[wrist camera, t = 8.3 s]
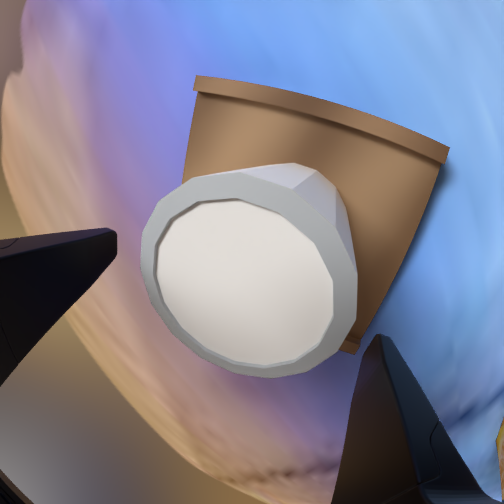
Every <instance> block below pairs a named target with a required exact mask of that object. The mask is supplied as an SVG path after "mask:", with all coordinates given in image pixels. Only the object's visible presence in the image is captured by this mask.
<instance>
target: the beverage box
mask: <svg viewBox="0 0 504 504" xmlns="http://www.w3.org/2000/svg"><path fill="white" fill-rule="evenodd" d="M496 445H497V451H498V458H499V467H500V476H501V489H502V502H503V503H504V418H503V421H502V425H501V428H500V431H499V433H498V436H497V439H496Z"/></svg>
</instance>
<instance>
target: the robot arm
mask: <svg viewBox="0 0 504 504" xmlns="http://www.w3.org/2000/svg"><path fill="white" fill-rule="evenodd" d="M116 255H117V233H116V232H115V231H114V230H111V229H109V228H98V229H88V230H78V231H69V232H60V233H52V234H43V235H35V236H27V237H20V238H12V239H4V240H0V386H1V385H2V384H3V383H4V381H5V380H6V379H7V378H8V377H9V375H10V374H11V373H12V372H13V370H14V369H15V368H16V367H17V366H18V364H19V363H20V362H21V361H22V360H23V358H24V357H25V356H26V355H27V354H28V353H29V351H30V350H31V349H32V348H33V347H34V346H35V345H36V344H37V342H38V341H39V340H40V339H41V338H42V337H43V336H44V335H45V333H47V331H48V330H49V329H50V328H51V327H52V326H53V325H54V324H55V323H56V322H57V321H58V320H59V319H60V317H62V315H63V314H64V313H65V312H66V311H67V310H68V309H69V308H70V307H71V306H72V305H73V304H74V303H75V302H76V301H77V300H78V299H79V298H80V297H81V296H82V295H83V294H84V293H85V292H86V291H87V290H88V289H89V288H90V287H91V286H92V285H93V284H94V282H95V281H96V280H97V279H98V278H99V276H100V275H101V274H102V273H103V272H104V271H105V269H106V268H107V267H108V266H109V265H110V264H111V262H112V261H113V260H114V259H115V257H116ZM0 504H34V503H33V502H32V501H31V500H29V499H28V498H27V497H26V496H25V495H24V494H23V493H22V492H21V491H20V490H19V489H18V488H17V487H16V486H15V485H14V484H13V483H12V481H11V480H10V479H9V478H8V477H7V476H6V475H5V474H4V473H3V472H2V471H1V469H0ZM331 504H504V503H503V502H500V501H497V500H494V499H492V498H491V497H489V496H488V495H487V494H485V493H484V491H483V490H482V489H481V488H480V486H479V485H478V483H477V481H476V480H475V478H474V477H473V475H472V473H471V472H470V470H469V468H468V467H467V465H466V464H465V462H464V461H463V459H462V457H461V456H460V454H459V453H458V451H457V449H456V448H455V446H454V445H453V443H452V441H451V439H450V438H449V436H448V434H447V432H446V431H445V429H444V427H443V425H442V423H441V422H440V421H439V418H438V416H437V414H436V413H435V411H434V409H433V407H432V406H431V404H430V402H429V401H428V399H427V397H426V395H425V394H424V392H423V390H422V389H421V387H420V385H419V384H418V382H417V380H416V379H415V377H414V375H413V374H412V372H411V370H410V369H409V367H408V365H407V364H406V362H405V361H404V359H403V357H402V356H401V354H400V353H399V351H398V349H397V348H396V346H395V345H394V343H393V342H392V340H391V339H390V337H388V336H385V335H382V334H377V335H376V336H375V337H374V338H373V340H372V341H371V343H370V345H369V346H368V348H367V349H366V351H365V353H364V355H363V357H362V361H361V365H360V369H359V374H358V378H357V382H356V386H355V390H354V393H353V398H352V402H351V407H350V414H349V420H348V426H347V432H346V438H345V443H344V449H343V454H342V459H341V463H340V468H339V473H338V477H337V481H336V486H335V490H334V494H333V498H332V502H331Z"/></svg>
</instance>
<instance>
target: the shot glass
mask: <svg viewBox="0 0 504 504" xmlns="http://www.w3.org/2000/svg"><path fill="white" fill-rule="evenodd" d="M140 269H141V273H142V276H143V279H144V282H145V286H146V289H147V292H148V295H149V298H150V301H151V304H152V305H153V307H154V308H155V310H156V311H157V313H158V314H159V316H160V317H161V319H162V320H163V321H164V323H165V324H166V326H167V327H168V329H169V330H170V331H171V333H172V334H173V335H174V336H175V337H176V338H178V339H179V340H180V341H181V342H182V343H184V344H185V345H186V346H187V347H188V348H190V349H191V350H192V351H193V352H194V353H196V354H197V355H198V356H199V357H201V358H202V359H205V360H207V361H209V362H211V363H213V364H215V365H217V366H220V367H222V368H224V369H226V370H228V371H231V372H233V373H236V374H242V375H249V376H256V377H263V378H277V377H283V376H289V375H294V374H299V373H304V372H307V371H309V370H310V369H312V368H314V367H315V366H317V365H318V364H320V363H321V362H323V361H324V360H326V359H328V358H329V357H331V356H332V355H334V354H335V353H337V351H338V349H339V348H340V346H341V344H342V343H343V341H344V339H345V338H346V336H347V334H348V333H349V331H350V329H351V327H352V326H353V324H354V322H355V320H356V311H357V277H358V275H357V268H356V261H355V255H354V249H353V243H352V237H351V231H350V226H349V221H348V215H347V210H346V207H345V205H344V203H343V201H342V198H341V196H340V194H339V192H338V190H337V188H336V186H334V185H333V184H332V183H331V182H330V181H329V180H328V179H327V178H325V177H324V176H323V175H322V174H321V173H320V172H318V171H317V170H315V169H312V168H309V167H306V166H303V165H300V164H297V163H285V164H274V165H266V166H259V167H252V168H246V169H239V170H233V171H227V172H221V173H216V174H210V175H205V176H199V177H194V178H191V179H190V180H188V181H187V182H185V183H184V184H182V185H181V186H179V187H178V188H176V189H175V190H174V191H172V192H171V193H169V194H168V195H166V196H165V197H164V198H162V199H161V200H159V202H158V203H157V205H156V207H155V209H154V211H153V213H152V215H151V217H150V219H149V221H148V223H147V225H146V227H145V229H144V231H143V233H142V243H141V265H140Z"/></svg>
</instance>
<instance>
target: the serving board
mask: <svg viewBox="0 0 504 504" xmlns="http://www.w3.org/2000/svg"><path fill="white" fill-rule="evenodd" d="M193 91H198V93H197V98H196V103H195V108H194V113H193V118H192V124H191V129H190V135H189V141H188V147H187V153H186V159H185V166H184V172H183V179H182V184H184V183H185V182H187V181H188V180H190V179H191V178H194V177H199V176H205V175H210V174H216V173H221V172H227V171H233V170H239V169H246V168H252V167H259V166H266V165H274V164H285V163H297V164H300V165H303V166H306V167H309V168H312V169H315V170H317V171H318V172H320V173H321V174H322V175H323V176H324V177H325V178H327V179H328V180H329V181H330V182H331V183H332V184H333V185H334V186H336V188H337V190H338V192H339V194H340V196H341V198H342V201H343V203H344V205H345V207H346V210H347V215H348V221H349V226H350V231H351V237H352V243H353V249H354V255H355V261H356V268H357V275H358V277H357V311H356V320H355V322H354V324H353V326H352V327H351V329H350V331H349V333H348V334H347V336H346V338H345V339H344V341H343V343H342V344H341V346H340V348H339V350H341V351H344V352H347V353H350V354H353V355H355V353H356V351H357V350H358V348H359V347H360V342H361V338H362V337H363V335H364V333H365V332H366V330H367V328H368V326H369V325H370V323H371V321H372V319H373V318H374V316H375V314H376V312H377V310H378V308H379V307H380V305H381V303H382V301H383V299H384V297H385V295H386V293H387V291H388V290H389V288H390V286H391V284H392V282H393V280H394V278H395V276H396V274H397V272H398V270H399V267H400V265H401V263H402V261H403V259H404V257H405V255H406V252H407V250H408V248H409V246H410V244H411V241H412V239H413V237H414V234H415V232H416V230H417V227H418V225H419V223H420V220H421V218H422V215H423V213H424V210H425V208H426V205H427V203H428V200H429V197H430V195H431V192H432V189H433V187H434V184H435V181H436V178H437V175H438V172H439V169H440V166H441V163H443V164H445V162H446V158H447V155H448V152H449V149H450V147H448V146H446V145H443V144H441V143H439V142H437V141H435V140H433V139H431V138H428V137H426V136H424V135H422V134H419V133H417V132H415V131H412V130H410V129H407V128H405V127H403V126H400V125H398V124H395V123H392V122H390V121H387V120H384V119H382V118H379V117H376V116H374V115H371V114H368V113H365V112H362V111H359V110H356V109H353V108H350V107H347V106H343V105H340V104H337V103H333V102H330V101H327V100H323V99H319V98H316V97H312V96H308V95H304V94H300V93H296V92H292V91H288V90H283V89H279V88H274V87H269V86H264V85H259V84H253V83H248V82H242V81H236V80H229V79H222V78H215V77H207V76H198V75H196V78H195V83H194V87H193Z"/></svg>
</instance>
